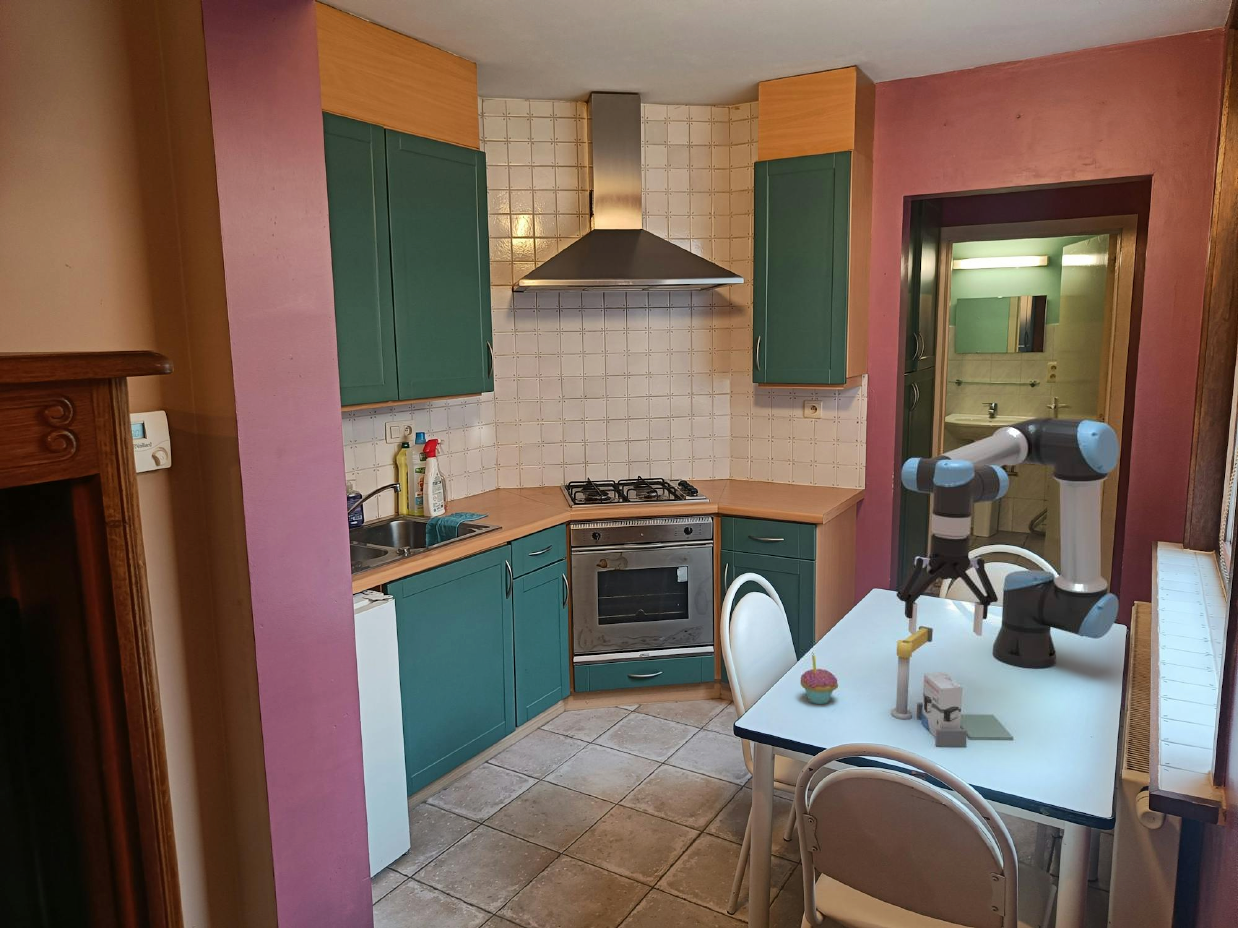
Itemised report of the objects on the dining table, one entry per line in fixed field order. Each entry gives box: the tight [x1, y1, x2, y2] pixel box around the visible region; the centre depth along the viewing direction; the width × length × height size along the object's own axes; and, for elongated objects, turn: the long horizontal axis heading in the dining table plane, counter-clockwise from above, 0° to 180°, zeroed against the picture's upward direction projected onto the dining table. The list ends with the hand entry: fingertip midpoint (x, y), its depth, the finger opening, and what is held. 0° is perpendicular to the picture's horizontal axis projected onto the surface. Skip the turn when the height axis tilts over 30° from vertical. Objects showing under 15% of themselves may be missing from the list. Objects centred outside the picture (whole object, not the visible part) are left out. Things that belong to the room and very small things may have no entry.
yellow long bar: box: [896, 625, 934, 658], centre depth 196 cm, size 15×3×3 cm, turn 140°
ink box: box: [921, 672, 963, 738], centre depth 185 cm, size 8×5×12 cm, turn 5°
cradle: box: [890, 656, 968, 748], centre depth 187 cm, size 11×17×14 cm, turn 178°
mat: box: [960, 713, 1014, 741], centre depth 188 cm, size 9×11×1 cm
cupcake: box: [800, 652, 839, 705], centre depth 202 cm, size 9×8×12 cm
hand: (944, 633), depth 183 cm, fingers open, 13 cm apart
